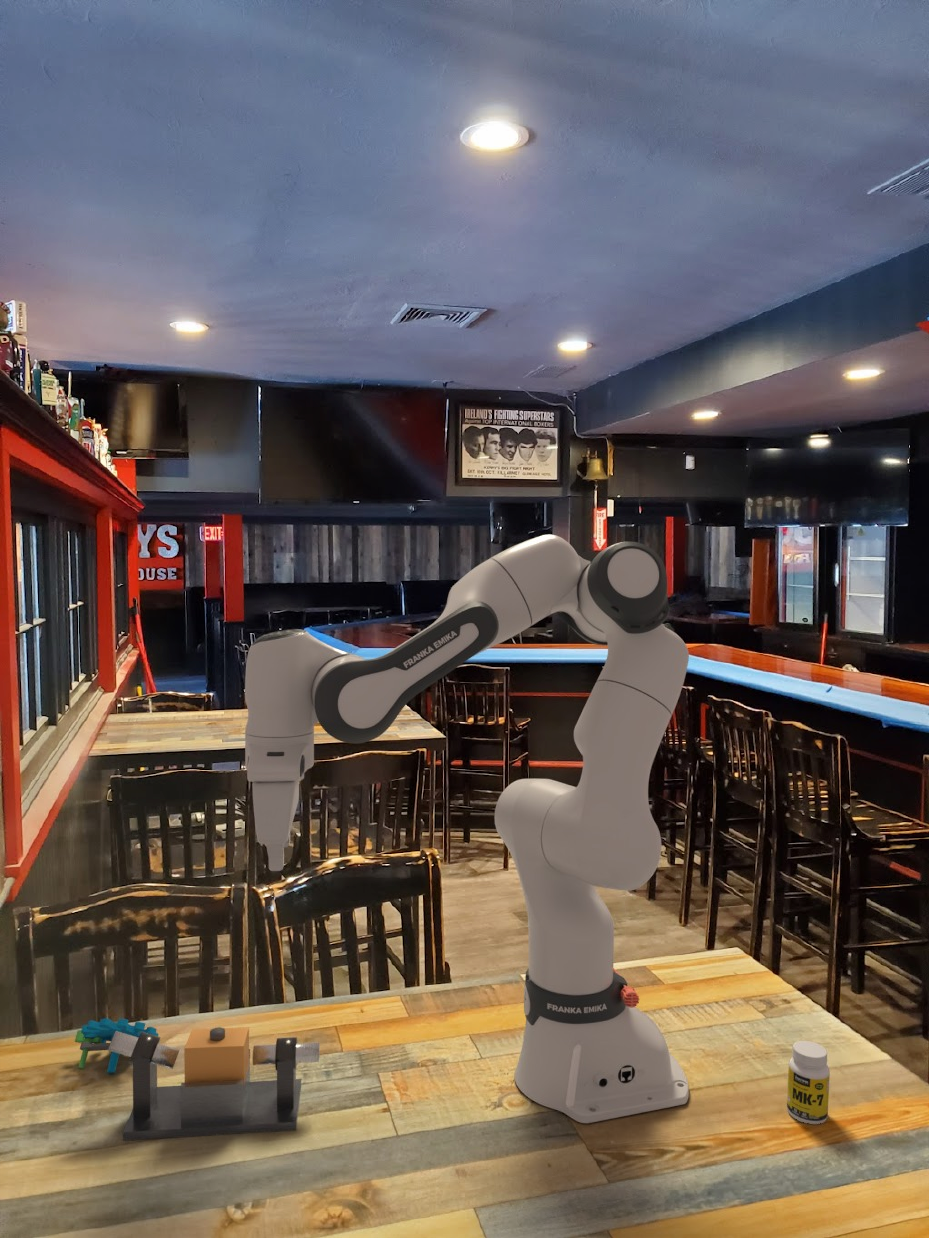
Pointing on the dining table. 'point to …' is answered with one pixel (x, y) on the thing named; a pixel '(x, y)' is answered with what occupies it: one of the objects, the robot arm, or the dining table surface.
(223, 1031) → the block
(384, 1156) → the dining table surface
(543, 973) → the robot arm
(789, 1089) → the supplement bottle
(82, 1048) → the gear
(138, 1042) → the shaft stand
